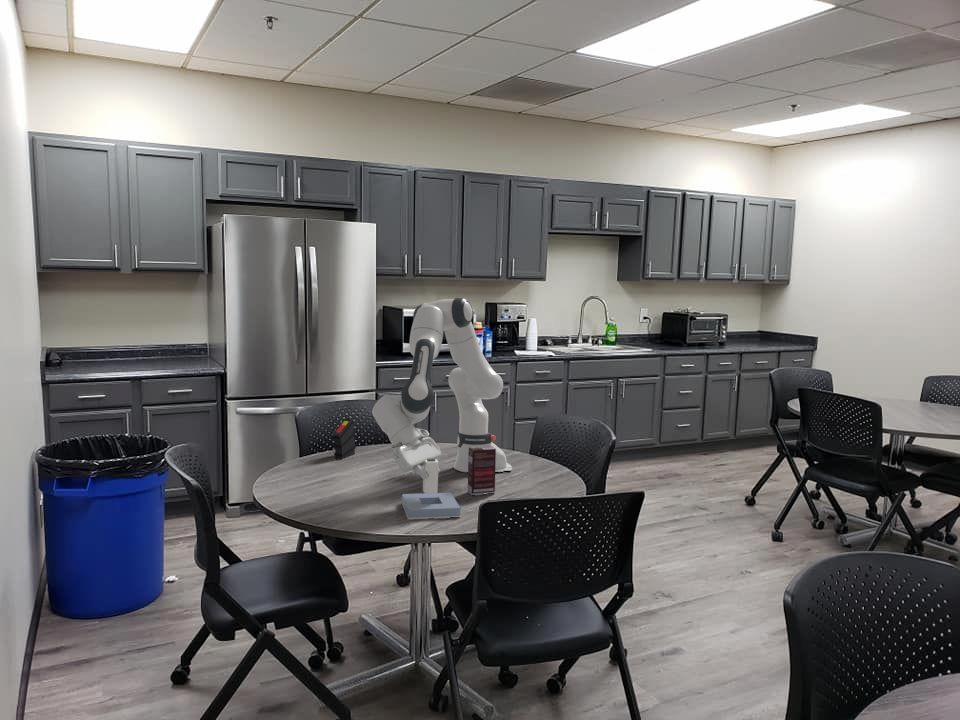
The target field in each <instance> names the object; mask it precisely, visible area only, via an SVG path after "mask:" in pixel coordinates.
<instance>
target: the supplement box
mask: <svg viewBox="0 0 960 720" xmlns="http://www.w3.org/2000/svg"><path fill="white" fill-rule="evenodd" d="M495 463H496V449H495V448H494V447H492V446H485V447H469V454H468V473H467V493H468V492H469V493H470V494H471V495H470V494H469V493H468V494H469V495H470V496H472V495H475V496H479V495H478V494H484V493H495V492H496V473H495Z"/></svg>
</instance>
